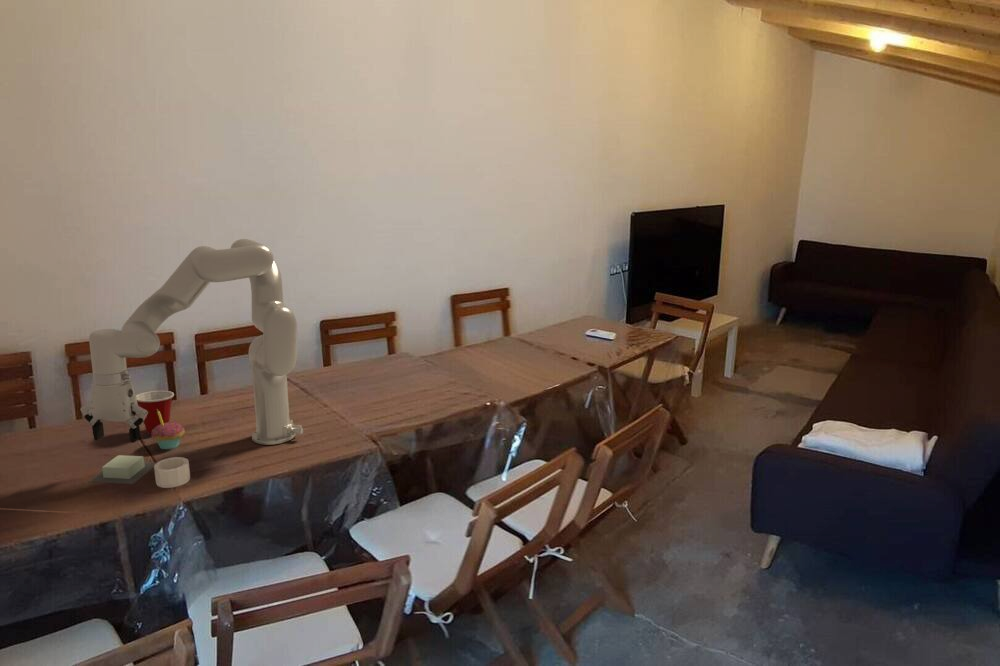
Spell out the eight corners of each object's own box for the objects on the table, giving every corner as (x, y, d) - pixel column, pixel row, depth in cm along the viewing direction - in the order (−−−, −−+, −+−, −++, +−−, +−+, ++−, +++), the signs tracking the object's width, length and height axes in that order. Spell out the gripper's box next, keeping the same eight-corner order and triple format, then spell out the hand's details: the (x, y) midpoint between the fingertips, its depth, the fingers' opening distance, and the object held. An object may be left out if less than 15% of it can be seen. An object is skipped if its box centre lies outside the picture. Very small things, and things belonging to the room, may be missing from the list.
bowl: (196, 475, 177) (194, 457, 176) (180, 489, 170) (178, 472, 168) (166, 473, 178) (164, 456, 176) (150, 488, 170) (147, 470, 169)
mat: (158, 464, 183) (158, 462, 183) (133, 485, 171) (133, 483, 171) (116, 462, 183) (116, 460, 183) (88, 483, 172) (87, 481, 172)
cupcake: (153, 455, 188) (148, 415, 185) (152, 443, 195) (148, 405, 192) (186, 449, 192) (182, 410, 188) (185, 438, 199) (181, 400, 196)
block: (144, 466, 180) (143, 456, 179) (129, 478, 174) (128, 468, 173) (119, 465, 181) (118, 455, 180) (103, 477, 174) (101, 467, 173)
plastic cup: (185, 425, 208) (181, 389, 205) (165, 439, 198) (160, 401, 195) (152, 423, 209) (148, 387, 206) (130, 437, 199) (125, 399, 196)
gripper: (151, 375, 173) (157, 436, 177) (87, 370, 174) (94, 431, 178) (135, 384, 166) (141, 447, 170) (67, 380, 167) (75, 443, 171)
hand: (117, 439), depth 174 cm, fingers open, 9 cm apart
